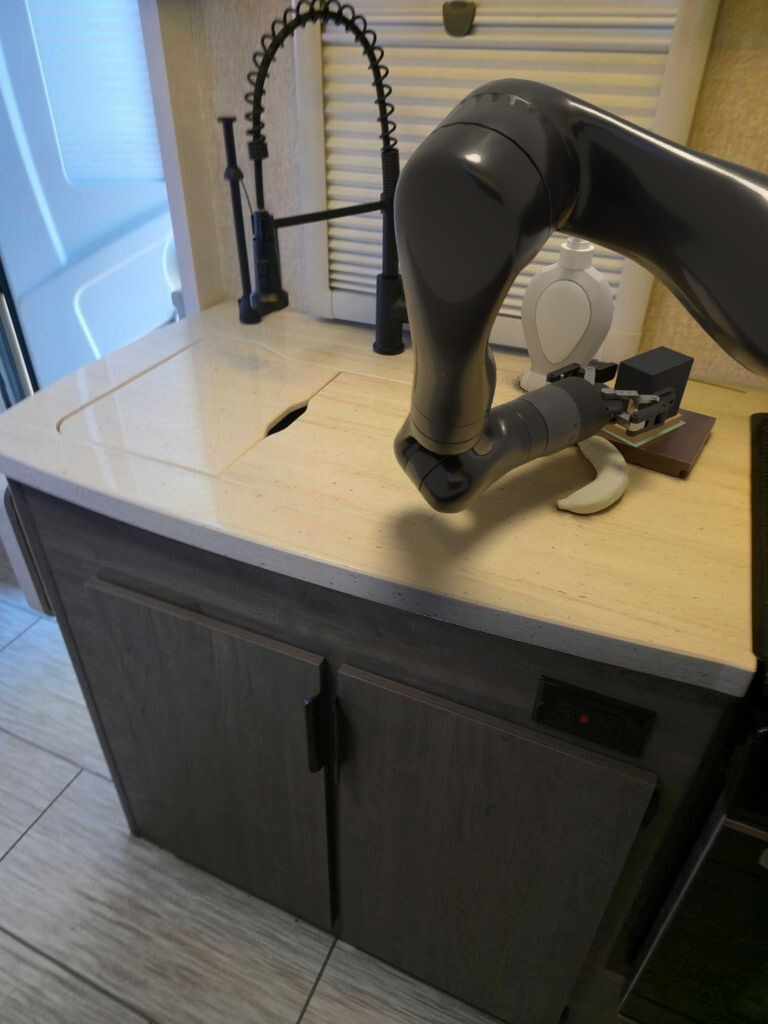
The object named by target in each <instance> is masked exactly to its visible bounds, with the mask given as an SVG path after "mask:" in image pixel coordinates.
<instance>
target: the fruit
mask: <svg viewBox="0 0 768 1024" xmlns="http://www.w3.org/2000/svg"><path fill="white" fill-rule="evenodd" d="M578 445H579V446H578V447H579V449H580V450H581V452H582V454H583V455H584V457H585V458H586V459H587V460H588V461H589V462H590V464H592V466H593V467H594V468H595V470H596V477H595V478H594V480H592V481H590V482H589V483H588V484H587V485H585V486H583V487H581V488H579V489H577V490H576V491H574V492H573V493H571V494H570V495H568V496H567V497H565V498H562V499H558V500H557V502H556V505H557V508H558V509H560V510H567V511H570V512H573V513H577V514H582V515H584V514H585V515H586V514H593V513H597V512H599V511H602V510H604V509H606V508H608V507H610V506H611V505H612V504H614V503H615V502H616V501H618V500H619V499H620V498H621V497H622V495H623V494H624V493H625V491H626V489H627V486H628V483H629V469H628V466H627V461H625V460H624V458H623V456H622V455H621V453H620V452H619V451H618V449H617V448H616V447H615V446H614V445H612V444H611V443H610V442H609V441H608V440H606V439H604V438H603V437H600V436H596V435H594V436H593V437H591V438H589V439H586V440H584V441H582V442H579V443H578Z"/></svg>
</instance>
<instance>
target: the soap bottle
mask: <svg viewBox="0 0 768 1024" xmlns="http://www.w3.org/2000/svg"><path fill="white" fill-rule="evenodd" d="M568 236H569V237H567V239H566V242H563V243H561V245H560V249H559V256H558V261H557V262H555V263H552V264H549V265H546V266H543V267H541V268H540V269H539V270H538V271H537V272H536V273H535V274H534V275H533V276H531V279H530V281H529V283H528V285H527V287H526V290H525V291H524V295H523V299H522V302H521V308H520V309H521V310H520V317H521V326H522V331H523V336H524V342H525V345H526V349H527V353H528V354H527V355H528V357H529V362H530V365H531V366H530V367H529V368H527V370H526V371H525V373H524V375H523V376H522V377H521V379H520V382H519V385H520V388H522V389H523V390H524V391H525V392H526V391H527V392H530V391H532V390H535V389H538V388H540V387H543V386H545V382H546V377H547V374H548V373H550V372H552V371H555V370H557V369H560V368H562V367H564V366H567V365H569V364H572V363H579V364H580V365H581V368H583V369H585V368H586V367H588V365H589V364H590V362H591V361H592V360H593V358H594V357H595V356H596V354H597V353H598V352H599V350H600V348H601V346H602V345H603V343H604V342H605V340H606V338H607V336H608V334H609V333H610V330H611V327H612V323H613V318H614V298H613V290H612V287H611V286H610V284H609V282H608V279H607V277H606V276H605V275H604V274H603V273H601V272H600V271H599V270H597V268H595V267H594V266H592V262H593V257H594V252H595V246H594V245H592V244H591V242H589V241H586V240H583V239H580V238H577V237H574V236H570V235H568Z"/></svg>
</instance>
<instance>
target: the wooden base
mask: <svg viewBox="0 0 768 1024" xmlns="http://www.w3.org/2000/svg"><path fill="white" fill-rule="evenodd" d="M678 413H679V414H681V415H682V416H681V419H680V422H679V423H677V424H675V425H673V426H671V427H669V428H667V429H665V430H663V431H661V432H659V433H656V434H654V435H652V436H650V437H648V438H646V439H644V440H642V441H640V442H638V443H636V444H634V443H632V442H630V441H628V440H626V439H624V438H622V437H620V436H618V435H616V434H614V433H612V432H611V431H609V430H607V429H605V428H602V429H601V430H600V431H598V432H597V433H596V434H595V435H596V436H600V437H603V438H604V439H606V440H608V441H609V442H610V443H611V444H612V445H614V446H615V447H616V448H617V449H618V451H619V452H620V453H621V455H622V456H623V458H624V460H625V462H628V463H630V464H631V463H632V464H635V465H638V466H640V467H644V468H647V469H650V470H653V471H657V472H660V473H663V474H667V475H670V476H673V477H675V478H678V477H679V476H680V474H681V472H682V471H686V472H689V471H690V470H691V468H692V466H693V465H694V463H695V461H696V459H697V457H698V456H699V454H700V452H701V450H702V448H703V446H704V445H705V443H706V441H707V439H708V437H709V435H710V434H711V432H712V430H713V428H714V426H715V424H716V422H717V417H715V416H711V415H707V414H703V413H700V412H695V411H692V410H688V409H684V408H681V407H679V410H678ZM574 446H576V447H579V445H578V443H577V444H575V445H574Z"/></svg>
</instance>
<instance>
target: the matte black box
mask: <svg viewBox="0 0 768 1024" xmlns="http://www.w3.org/2000/svg"><path fill="white" fill-rule="evenodd" d="M694 362H695V357H692V356H690V355H687V354H684V353H682V352H680V351H676V350H674V349H671V348H669V347H666V346H665V345H659V346H658V347H656V348H655V347H654V348H653V349H650V350H647V351H645V352H642V353H639V354H637V355H634V356H631V357H629V358H626V359H624V360H623V359H622V360H621V361H620V362H619V366H618V368H617V372H616V376H615V377H616V378H615V382H614V386H613V389H615V390H624V391H637V392H638V394H639V395H652V394H653V393H656V392H658V391H661V390H663V389H665V388H668V387H671V388H673V389H675V394H676V395H675V398H674V402H673V405H672V406H671V407H669V410H668V413H667V416H666V420H665V423H664V425H663V426H660V427H658V428H655V429H653V430H650V431H648V432H645V433H642V434H640V435H637V436H635V437H630V436H627V435H626V434H625V432H626V429H627V428H626V427H624V426H623V425H621V424H619V423H617V424H613V425H605V426H604V427H603V428H605V429H607V430H609V431H611V432H612V433H614V434H616V435H618V436H620V437H622V438H624V439H626V440H628V441H630V442H632V443H634V444H636V443H638V442H640V441H642V440H644V439H646V438H648V437H650V436H652V435H654V434H656V433H659V432H661V431H663V430H665V429H667V428H669V427H671V426H673V425H675V424H677V423H679V422H680V419H681V416H682V415H681V414H679V413H678V410H679V408H681V403H682V400H683V397H684V393H685V391H686V387H687V385H688V381H689V377H690V375H691V373H692V369H693V365H694ZM629 401H630V399H624V410H623V413H624V412H626V411H627V409H628V405H629ZM646 405H647V403H640V404H639V406H638V410H641V409H644V408H646Z"/></svg>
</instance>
